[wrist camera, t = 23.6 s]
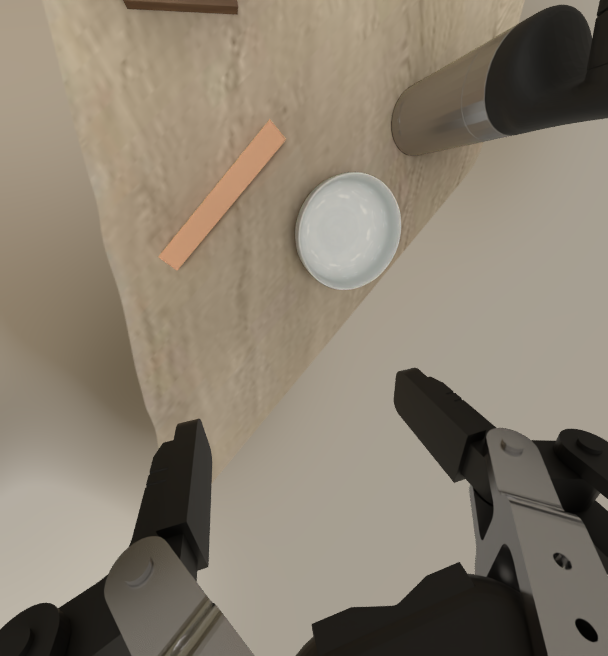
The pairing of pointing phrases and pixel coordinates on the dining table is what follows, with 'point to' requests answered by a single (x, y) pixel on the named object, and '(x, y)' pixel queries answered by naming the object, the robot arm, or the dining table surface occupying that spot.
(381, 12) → the dining table surface
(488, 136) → the robot arm
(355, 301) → the dining table surface
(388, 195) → the cereal bowl
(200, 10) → the walnut stand
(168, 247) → the orange rod
